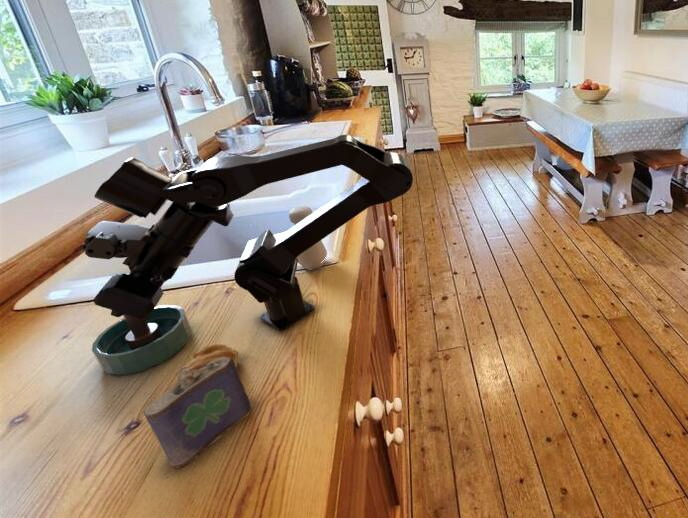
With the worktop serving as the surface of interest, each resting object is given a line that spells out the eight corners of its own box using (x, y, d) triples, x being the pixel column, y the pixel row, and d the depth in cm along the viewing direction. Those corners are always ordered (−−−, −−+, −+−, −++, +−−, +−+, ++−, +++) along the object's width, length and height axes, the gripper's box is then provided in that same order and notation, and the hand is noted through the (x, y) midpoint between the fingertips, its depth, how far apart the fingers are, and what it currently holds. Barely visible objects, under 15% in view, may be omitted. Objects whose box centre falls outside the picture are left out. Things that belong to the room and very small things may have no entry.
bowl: (205, 338, 67) (197, 319, 65) (119, 389, 58) (107, 368, 57) (175, 315, 72) (167, 297, 71) (92, 358, 64) (80, 338, 62)
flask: (178, 473, 47) (142, 407, 43) (165, 461, 48) (129, 396, 44) (256, 409, 54) (232, 347, 50) (243, 400, 56) (218, 339, 51)
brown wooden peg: (168, 334, 66) (144, 284, 62) (141, 353, 63) (113, 300, 59) (151, 330, 67) (126, 280, 63) (123, 347, 64) (95, 296, 60)
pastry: (233, 401, 56) (224, 381, 54) (173, 422, 53) (162, 401, 51) (241, 354, 63) (233, 335, 62) (189, 370, 61) (180, 351, 59)
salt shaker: (334, 257, 88) (321, 202, 83) (320, 272, 83) (305, 215, 78) (308, 256, 89) (293, 202, 84) (293, 271, 84) (276, 215, 78)
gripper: (142, 181, 65) (85, 256, 66) (79, 235, 49) (6, 333, 50) (215, 215, 71) (163, 284, 71) (181, 273, 54) (113, 361, 55)
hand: (118, 310), depth 62 cm, fingers closed on brown wooden peg, 2 cm apart
